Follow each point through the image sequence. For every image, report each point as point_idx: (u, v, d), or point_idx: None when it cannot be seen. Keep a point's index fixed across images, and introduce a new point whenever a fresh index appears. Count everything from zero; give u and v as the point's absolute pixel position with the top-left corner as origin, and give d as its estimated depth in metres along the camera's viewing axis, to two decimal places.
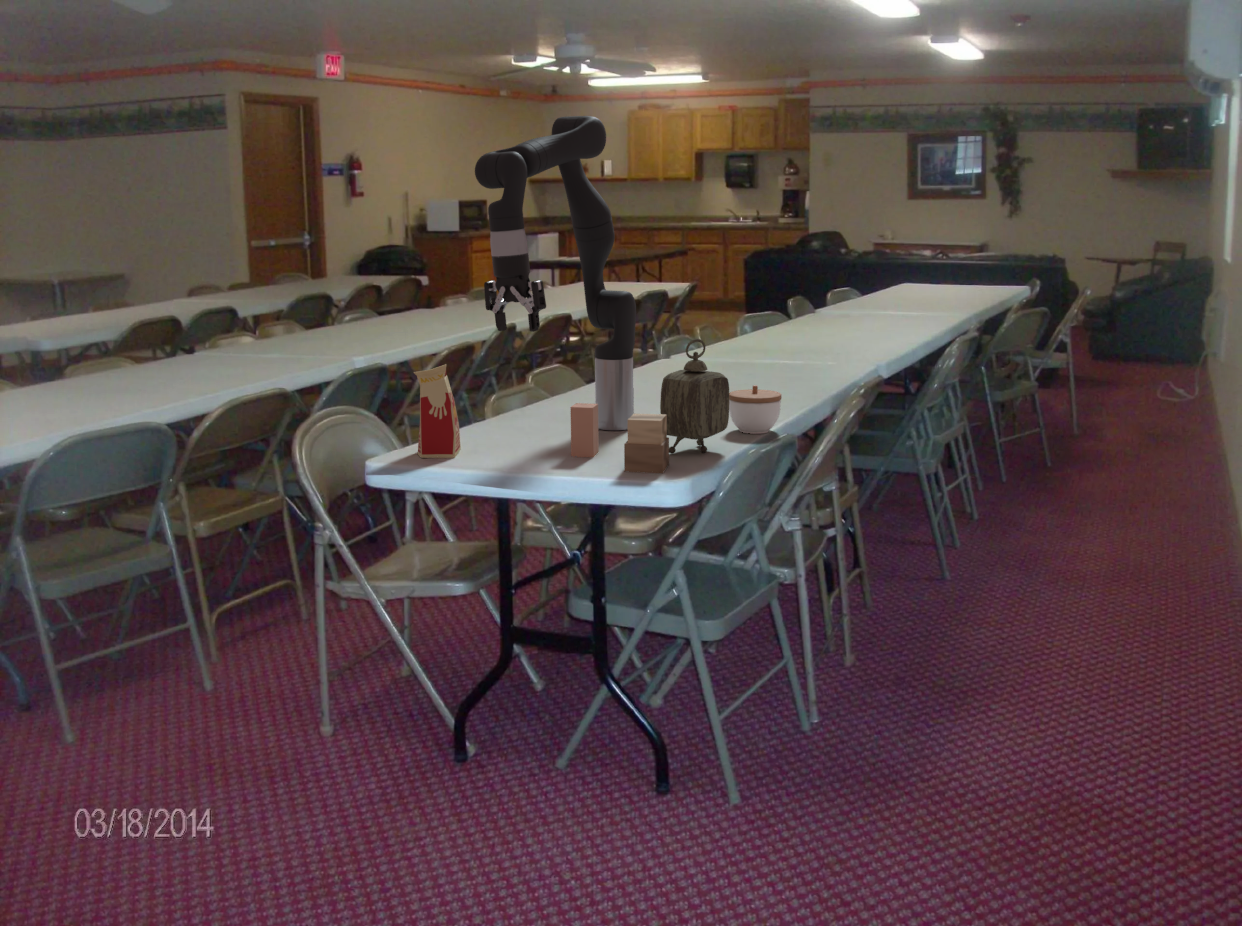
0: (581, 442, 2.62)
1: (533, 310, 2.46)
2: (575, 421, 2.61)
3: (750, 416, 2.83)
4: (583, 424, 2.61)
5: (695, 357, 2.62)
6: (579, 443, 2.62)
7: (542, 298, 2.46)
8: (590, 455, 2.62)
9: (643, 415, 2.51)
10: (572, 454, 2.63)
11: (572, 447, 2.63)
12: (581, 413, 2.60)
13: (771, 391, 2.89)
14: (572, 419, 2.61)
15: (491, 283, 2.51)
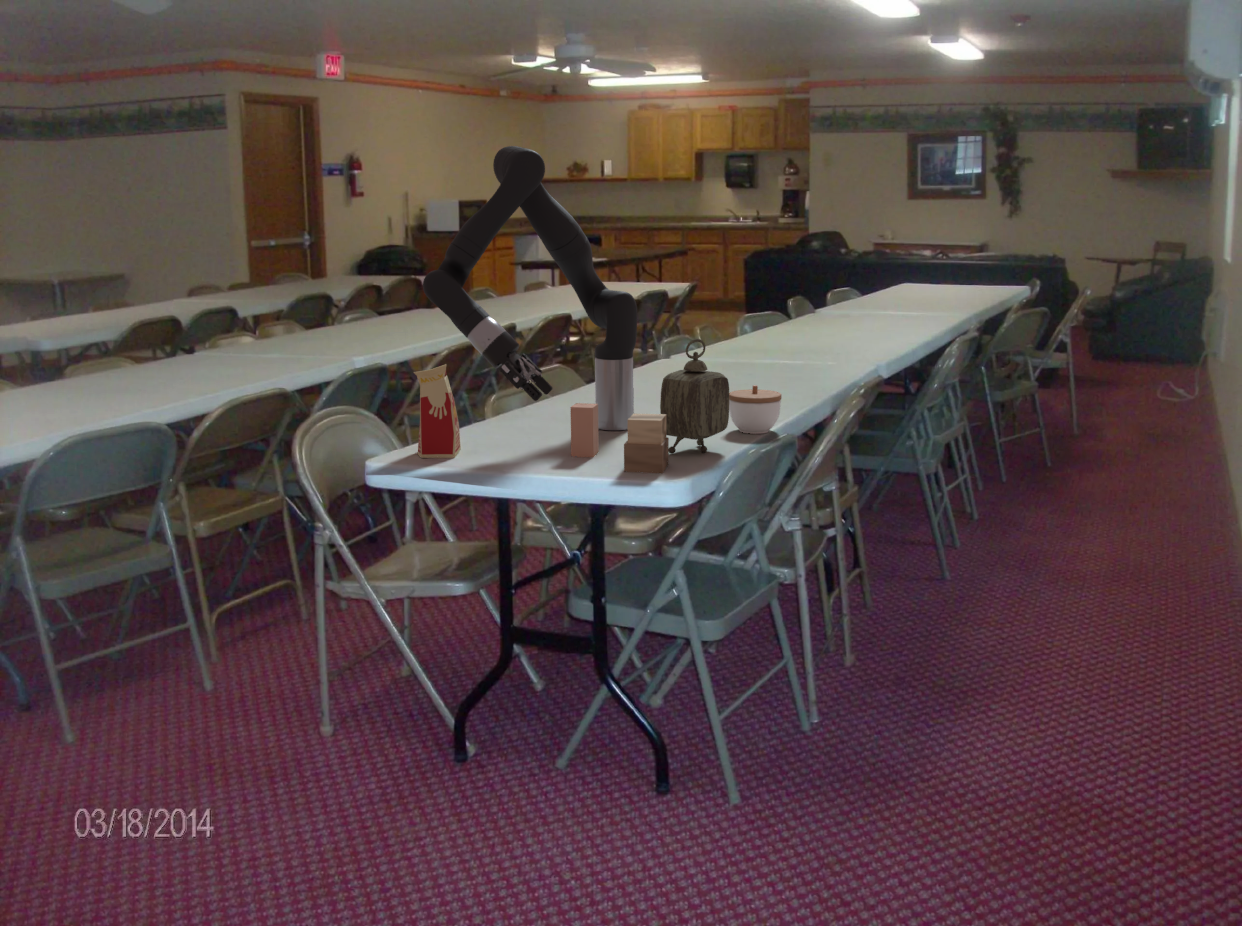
0: (581, 442, 2.62)
1: None
2: (575, 421, 2.61)
3: (750, 416, 2.83)
4: (583, 424, 2.61)
5: (695, 357, 2.62)
6: (579, 443, 2.62)
7: None
8: (590, 455, 2.62)
9: (643, 415, 2.51)
10: (572, 454, 2.63)
11: (572, 447, 2.63)
12: (581, 413, 2.60)
13: (771, 391, 2.89)
14: (572, 419, 2.61)
15: None
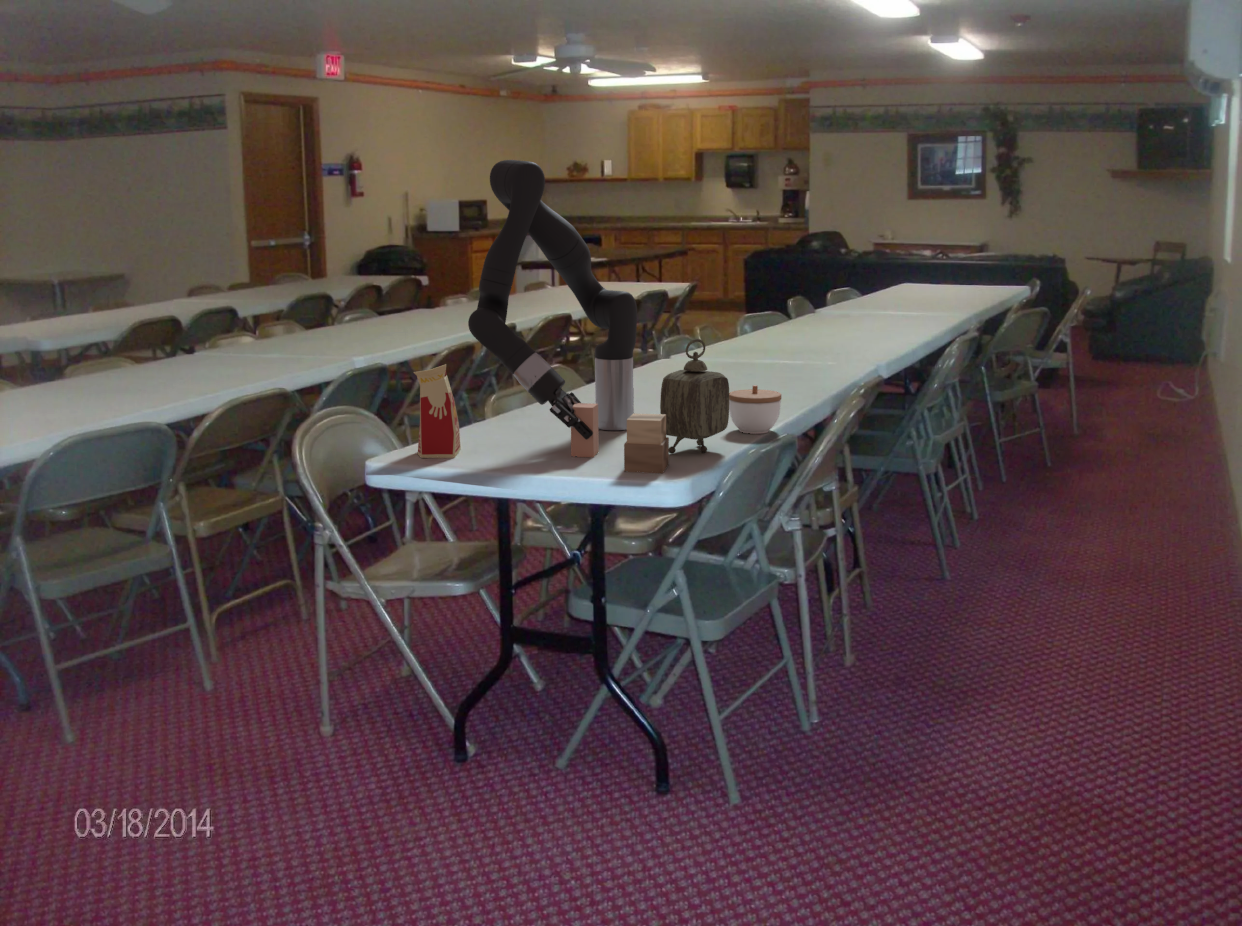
0: (581, 442, 2.62)
1: (572, 425, 2.60)
2: None
3: (750, 416, 2.83)
4: None
5: (695, 357, 2.62)
6: (579, 442, 2.62)
7: None
8: (590, 455, 2.62)
9: (642, 415, 2.51)
10: (572, 454, 2.63)
11: (572, 447, 2.63)
12: (581, 413, 2.60)
13: (771, 391, 2.89)
14: None
15: None
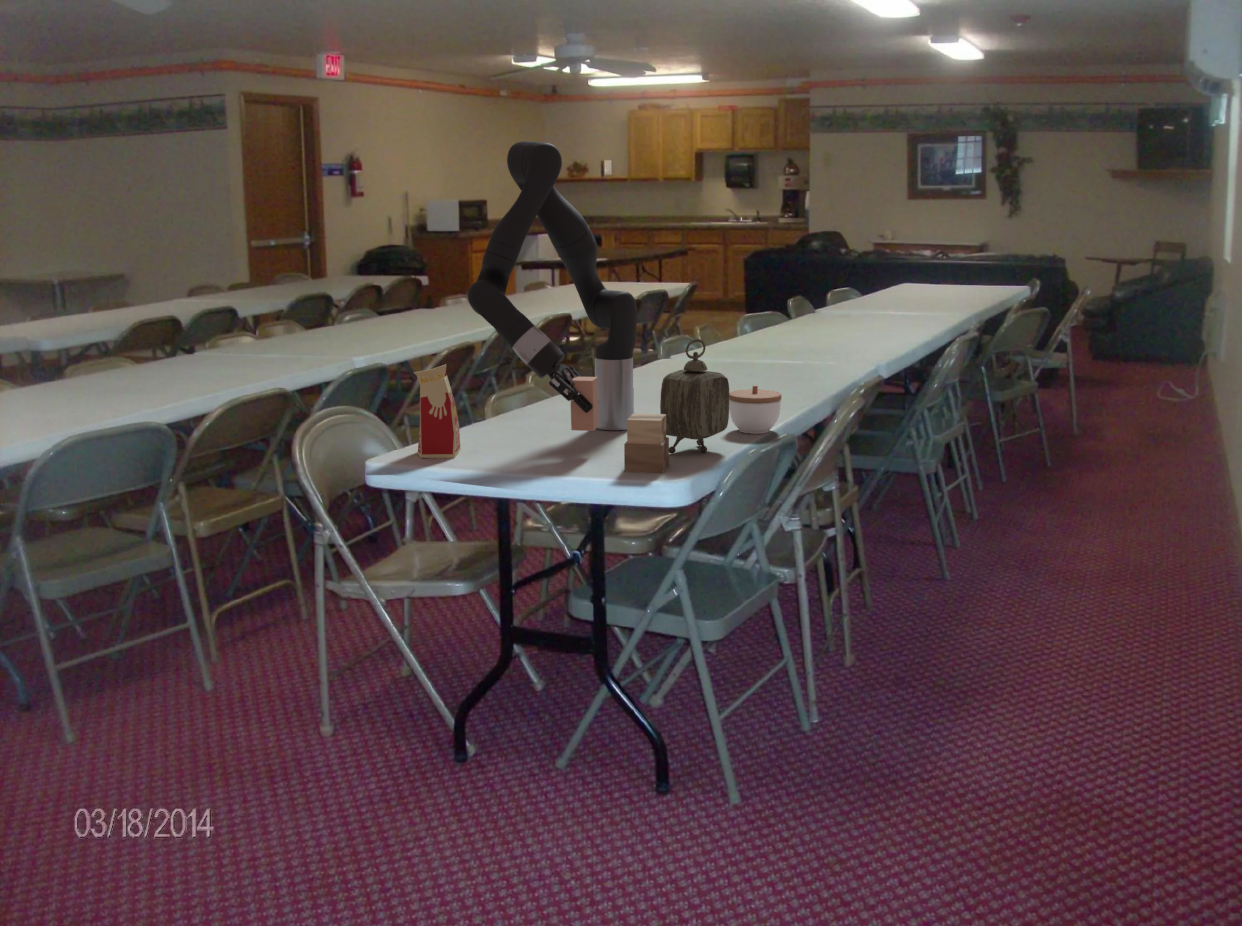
0: (581, 415, 2.61)
1: None
2: None
3: (750, 416, 2.83)
4: None
5: (695, 357, 2.62)
6: (579, 416, 2.61)
7: None
8: (590, 428, 2.61)
9: (643, 415, 2.51)
10: (572, 428, 2.62)
11: (572, 420, 2.62)
12: (580, 386, 2.59)
13: (771, 391, 2.89)
14: None
15: None
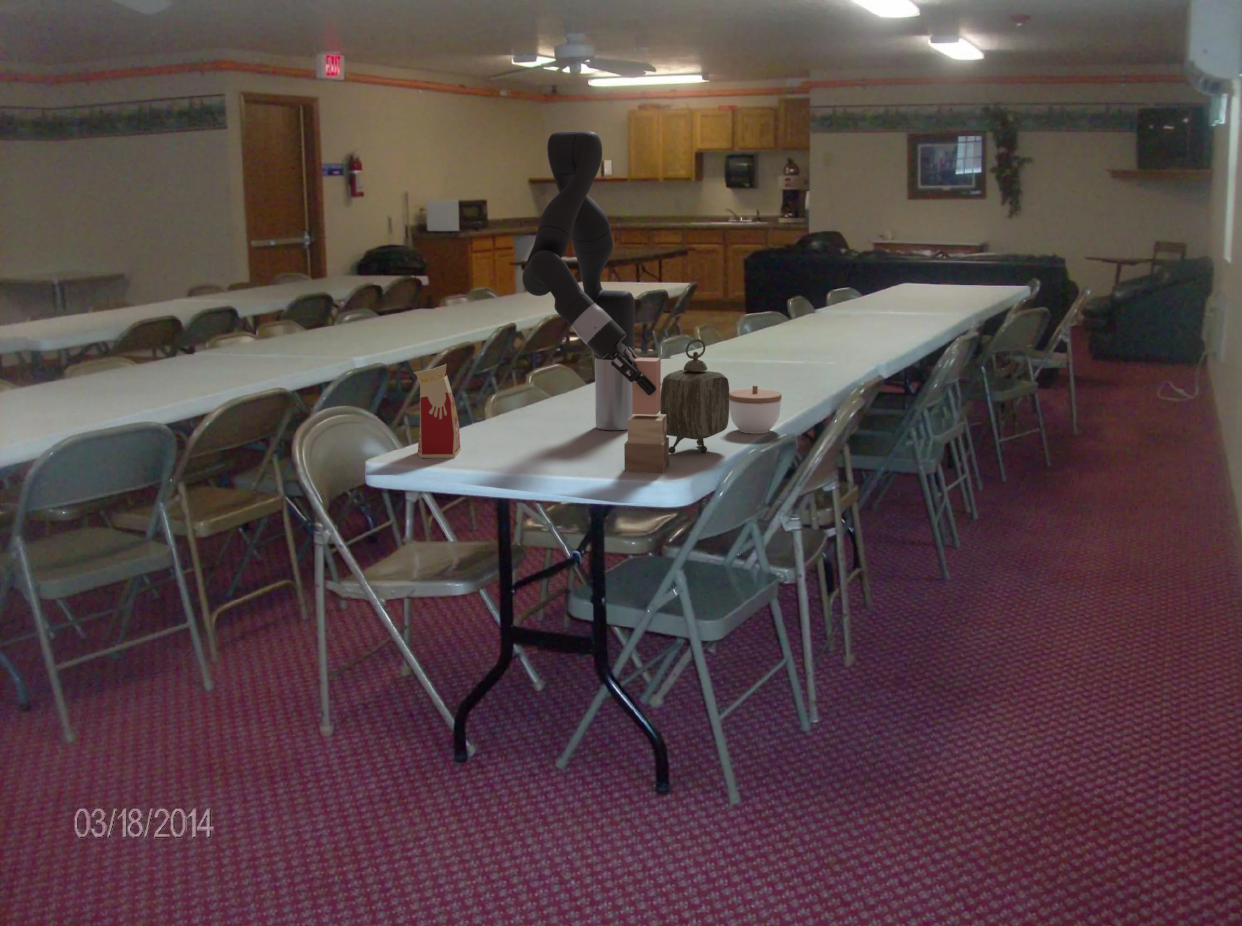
0: (643, 398, 2.46)
1: (634, 380, 2.44)
2: None
3: (750, 416, 2.83)
4: None
5: (695, 357, 2.62)
6: (641, 399, 2.46)
7: None
8: (653, 412, 2.46)
9: (643, 415, 2.51)
10: (633, 411, 2.47)
11: (633, 404, 2.47)
12: (643, 367, 2.45)
13: (771, 391, 2.89)
14: None
15: None
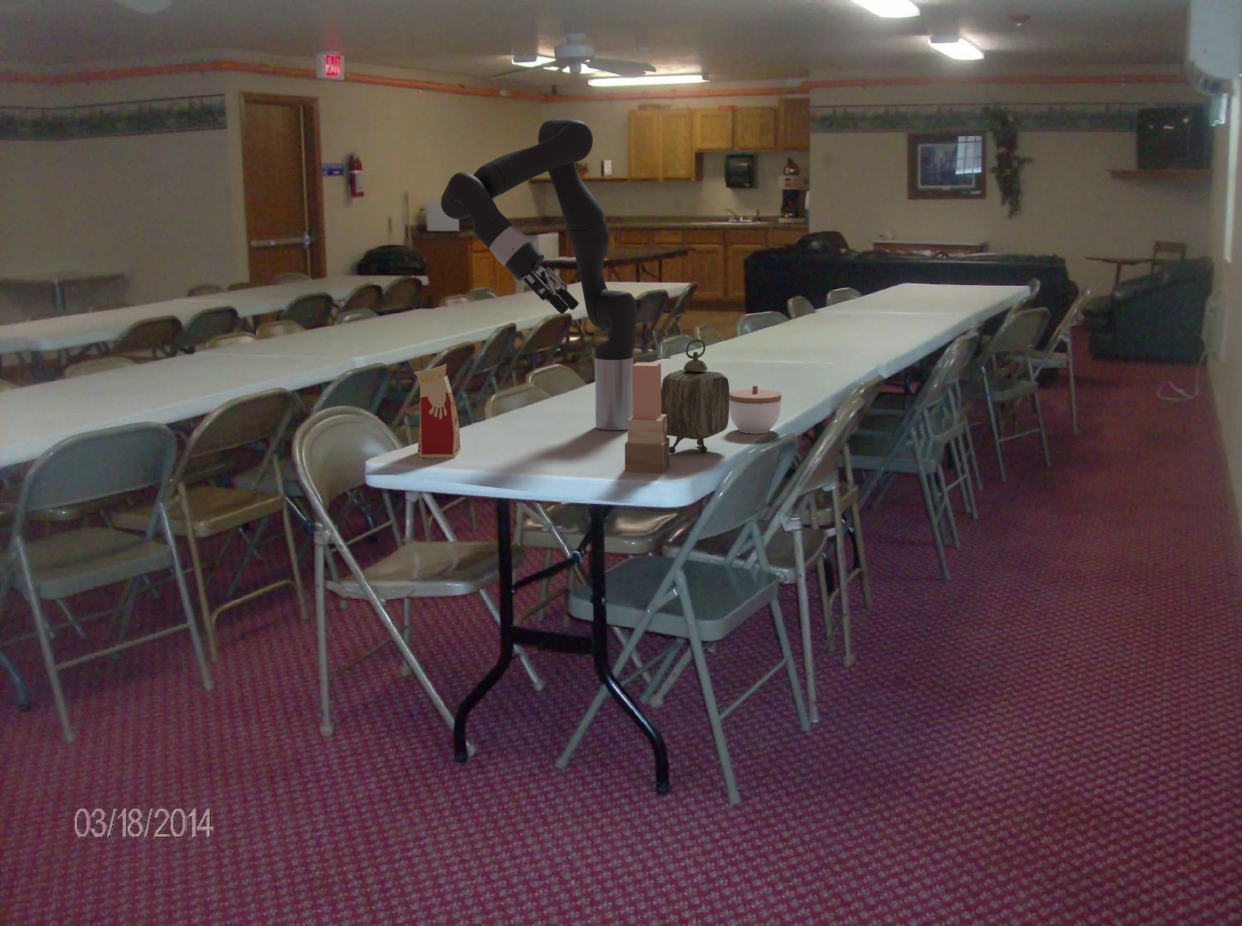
0: (643, 402, 2.46)
1: (546, 299, 2.46)
2: (637, 381, 2.46)
3: (750, 416, 2.83)
4: (645, 384, 2.46)
5: (695, 357, 2.62)
6: (641, 404, 2.47)
7: None
8: (653, 417, 2.47)
9: None
10: (634, 416, 2.48)
11: (633, 408, 2.47)
12: (643, 372, 2.45)
13: (771, 391, 2.89)
14: (634, 378, 2.46)
15: None
